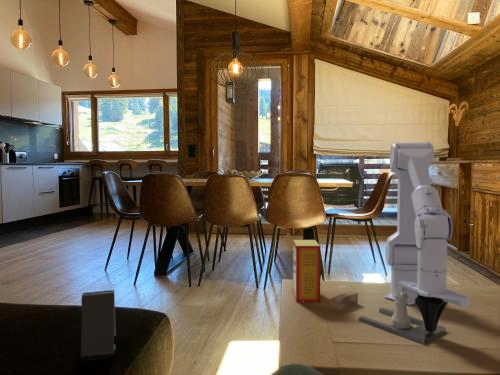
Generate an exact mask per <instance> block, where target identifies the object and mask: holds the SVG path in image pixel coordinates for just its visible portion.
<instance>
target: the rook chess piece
mask: <svg viewBox="0 0 500 375" xmlns="http://www.w3.org/2000/svg"><path fill="white" fill-rule="evenodd" d="M394 297H395V298H396V301H395V300H394V303H395V306H394V314H393V316H390V317H391V318H390V320H391V321H390V324H391V326H393V327H396V328H398V329H401V330H408V329H410V328H411V327H412V324H411V320H410V318H409V316H410V315H409V314H408V309H407V305H409V304H408V303H407V299H408V298H409V296H408V295H407V292H405V291H402V292H400V291H399V290H398V291H396V293H395V294H394Z"/></svg>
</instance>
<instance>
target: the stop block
mask: <svg viewBox="0 0 500 375" xmlns="http://www.w3.org/2000/svg"><path fill="white" fill-rule="evenodd" d="M358 296H359V293H358V292H356V291H352V290H351V291H347V292H345V293H342V294H338V295H336V296H333V297H330V310H332V311H334V312H339V311H342V310H346V309H348V308H350V307H353V306H355V305H358V303H359V297H358Z"/></svg>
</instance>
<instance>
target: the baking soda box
mask: <svg viewBox="0 0 500 375" xmlns="http://www.w3.org/2000/svg"><path fill="white" fill-rule="evenodd" d="M292 292H294V293H293V296H294V295H295V296H294V298H296V299H295V302H296V303H321V245H320V243H318V241H317V240H315V239H292ZM303 301H304V302H303Z"/></svg>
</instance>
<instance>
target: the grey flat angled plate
mask: <svg viewBox="0 0 500 375" xmlns="http://www.w3.org/2000/svg"><path fill="white" fill-rule="evenodd" d="M394 312H395V310H394V311H393V310H390V309H387V308H385V307H380V308H379V309H378V313H381V314H384V315H387V316H389V317H392V316H393V314H394ZM408 316H409V318H410V320H411V322H410V324H411V323H412V324H415V325H417V326H416V327H414V328H412V329H409V331H407V330H405V329H398V328H396V327H393V326H392V325H390V324H387V323H384V322H381V321H379V320H376V319H373V318H369V317H367V316H364V315H360V316H359V317H358V321H359V322H362V323H365V324H367V325H370V326H373V327H375V328H378V329H381V330H384V331H386V332H389V333H393V334H395V335H398V336H401V337H402V338H406V339H408V340H411V341H415V342H416V343H420V344H422V345H426V344H427V343H429V342H430V341H432V340H435V339H436V338H437V337H439V336H440V335H443V334H444V333H446V332H447V327H446V326H445V327H444V326H443V325H442V326H441V325H438V324H437V328H436V331H434V332H432V333H431V332H428V331H426V329H425V325H424V321H423V319H420V318H416V317H413V316H410V315H408Z"/></svg>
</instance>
